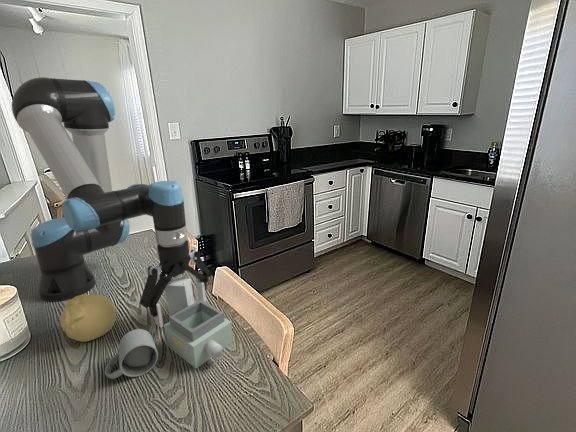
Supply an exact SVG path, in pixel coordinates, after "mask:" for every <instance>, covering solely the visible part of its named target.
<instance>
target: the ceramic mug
mask: <svg viewBox="0 0 576 432" xmlns="http://www.w3.org/2000/svg"><path fill="white" fill-rule="evenodd" d="M158 358H159V352H158V349H157V346H156V344H155V340H154V338H153V336H152V335H151V333H150V332H149V331H147V330H145V329H143V328H136V329H135V328H134V329H132V330H130V331H128V332H127V333H125V334H124V335H123V336H122V338H121V339H120V342H119V343H118V353H117V354H116V355H114V356H113V357H112V358H111V359H110V360H108V363H107V364H106V366H105V369H104V374H105V376H106V377H107V378H109V379H111V380H115V379H118V378H119V377H121V376H122V375H124V376H126V377H129V378H135V377H140V376H143V375H145V374H148V373H149V372H150V371H151V370H153V368H154V367H155V365H156V364H157V361H158ZM117 363H118V366H119V368H118V369H116V370H115V371H113V372H112V369H113V367H114V366H115V365H116V364H117Z"/></svg>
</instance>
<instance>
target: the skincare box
mask: <svg viewBox="0 0 576 432" xmlns="http://www.w3.org/2000/svg"><path fill="white" fill-rule="evenodd" d="M193 293H194V292H193V286H192V279H191V278H186V277H185V278H183V277H182V278H181V277H179V278H178V277H172V279H171V281H170V282H168V284H167V285H166V287H165V289H164V295H165V300H166V306H167V309H168V310H167V311H168V316H169V317H170V316H172V315H174V314H176V313H177V312H179V311H181V310H183V309H185V308H187V307H189V306H190V305H192V304H194V303H195V299H194V294H193ZM169 317H168V318H169Z"/></svg>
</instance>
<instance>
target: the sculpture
mask: <svg viewBox="0 0 576 432" xmlns="http://www.w3.org/2000/svg"><path fill="white" fill-rule="evenodd" d="M116 315H117V314H116V308H115V306H114V304H113V302H112V300H110V299H109V298H108V297H106V296H104V295H101V294H88V293H87V292H86V293H84V294H82V295H78V296H76V297H74V298H71V299H69V301H68V300H67V301H66V302H65V304H64V310H62V311H61V313H60V316H59V319H60V322H59V324H60V327H61V328H62V329H61V330H62V331H63V332H65V334H66V336H67V337H68V339H72V340H74V341H77V342H80V343H81V342H82V343H84V342H89V341H93V340H96V339H98V338H100V337H102V336H104V335H106V334H107V333H108V332H110V330H111V329H113V326H114V324H115V321H116V317H117V316H116Z"/></svg>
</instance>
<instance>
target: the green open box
mask: <svg viewBox="0 0 576 432" xmlns="http://www.w3.org/2000/svg"><path fill="white" fill-rule="evenodd" d="M168 318H169V321H168V322H167V323H165V324H163V328H164V336H165V342H166V346H167V347H168V348H169V349H170V350H172V351H173V353H176V354H177V355H178V356H179V357H181V358H182V359H183V360H184V361H186V363H188V364H189V365H190V366H192V367H193V368H195V369H198V368H199V367H201V366H202V365H204V363H206V362H208V361H209V360H211V358H212V359H218V358H219V357H221V354H222V353H223V350H224V349H225V348H227V347H228V346H230V344H232V343H234V341H233V325H232V321H231V320H229V319H227V318H226V317H225V313H224V312H223V311H221V310H219V309H218V308H216V307H214V306H212V305H211V304H209V303H207V301H206V302H204V301H202V300H200V301H199V300H198V301H195V302H194V304H192V305H190V306H189V307H187V308H185V309H183V310H181V311H179V312H177V313H176V314H174V315H172V316H170V317H168Z"/></svg>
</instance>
